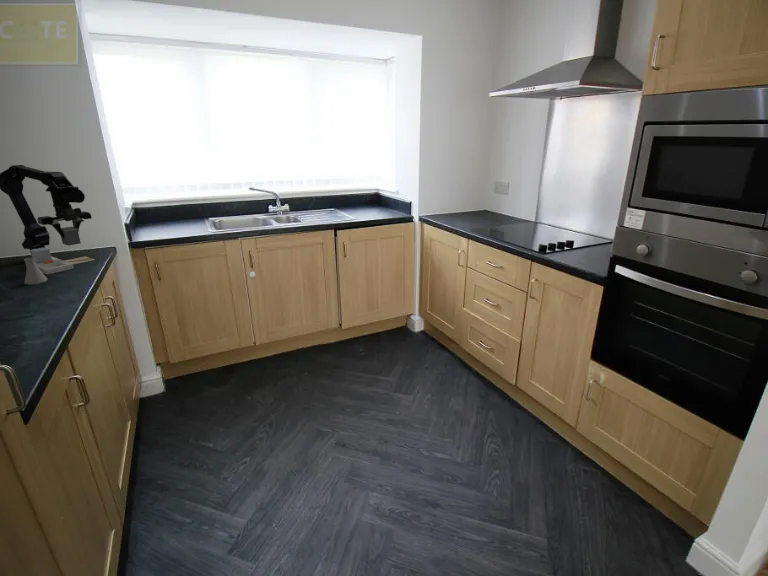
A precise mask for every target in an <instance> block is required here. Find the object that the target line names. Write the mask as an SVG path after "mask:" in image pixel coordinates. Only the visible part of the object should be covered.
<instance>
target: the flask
mask: <svg viewBox="0 0 768 576" xmlns="http://www.w3.org/2000/svg"><path fill="white" fill-rule="evenodd" d="M23 261H24V262H26V263H25V266H26V271H25V276H24V277H25V278H24V285H38V284H41V283H45V282H48V280H49V278H48V277H47V276H46V274H44V273H42V272H41V271H40V269H39V268H38V267H37V265H36V263H35V258H32V257H27V258H24V259H23Z"/></svg>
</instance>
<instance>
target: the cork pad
mask: <svg viewBox="0 0 768 576" xmlns="http://www.w3.org/2000/svg"><path fill="white" fill-rule="evenodd" d="M95 260H96V259H94V258H91V257H89V256H80V257H75V258H72V259H71V258H70V259H65V260H64V261H66V262H69V263H71V264H73V265H76V264H77V265H78V264H81V263H87V262H91V261H95Z"/></svg>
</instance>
